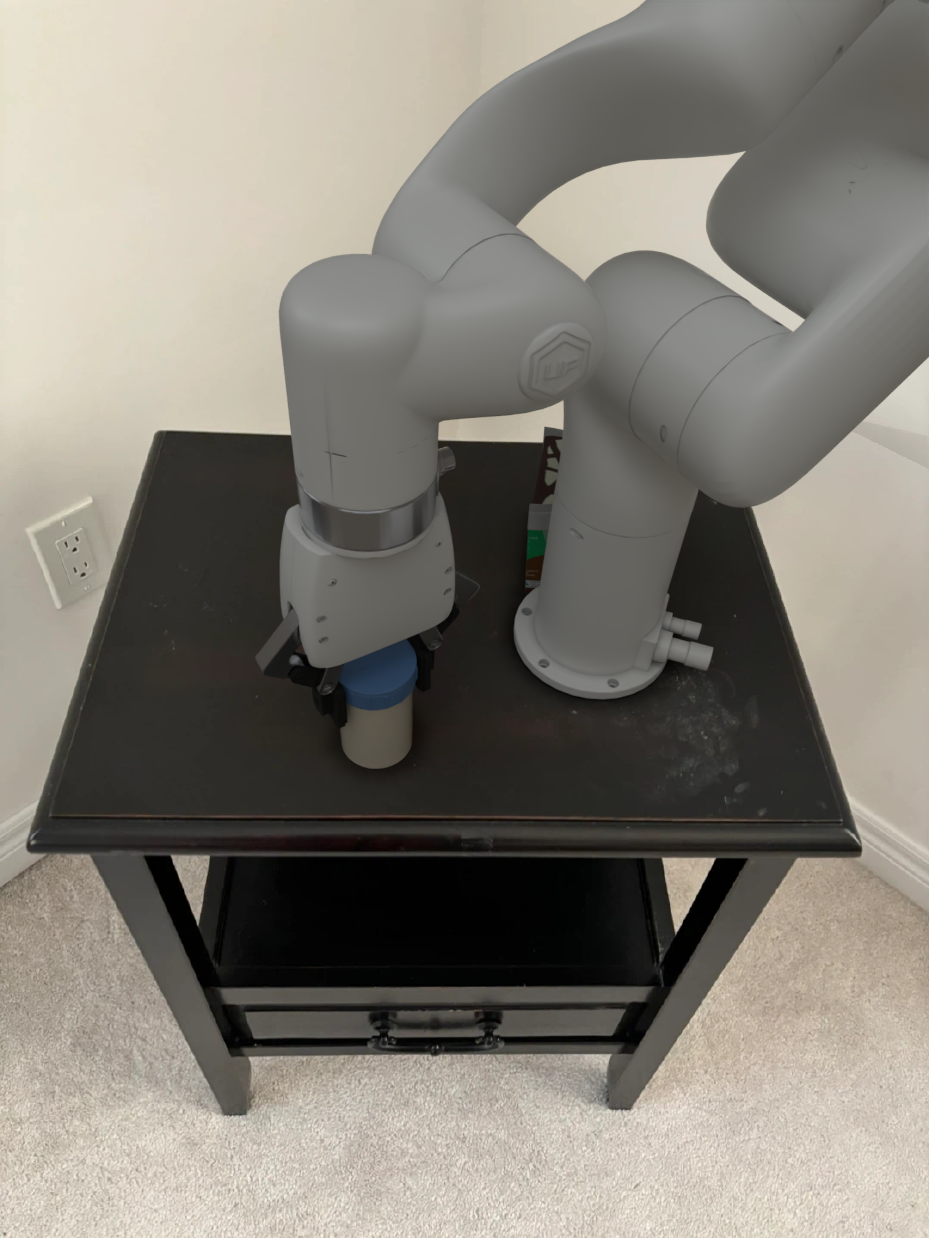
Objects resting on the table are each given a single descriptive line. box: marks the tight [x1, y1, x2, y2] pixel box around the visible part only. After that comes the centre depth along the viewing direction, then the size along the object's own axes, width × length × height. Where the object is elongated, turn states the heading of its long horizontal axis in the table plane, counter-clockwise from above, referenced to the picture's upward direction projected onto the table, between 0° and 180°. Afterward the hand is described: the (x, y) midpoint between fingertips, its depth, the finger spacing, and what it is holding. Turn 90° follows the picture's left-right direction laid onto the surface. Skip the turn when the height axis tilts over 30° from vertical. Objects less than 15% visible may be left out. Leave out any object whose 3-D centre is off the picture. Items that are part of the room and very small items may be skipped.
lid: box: [339, 639, 418, 711], centre depth 62 cm, size 6×6×2 cm
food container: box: [524, 426, 563, 595], centre depth 78 cm, size 12×6×10 cm, turn 170°
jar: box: [339, 691, 414, 770], centre depth 65 cm, size 5×5×9 cm
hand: (374, 692), depth 64 cm, fingers closed on lid, 5 cm apart
